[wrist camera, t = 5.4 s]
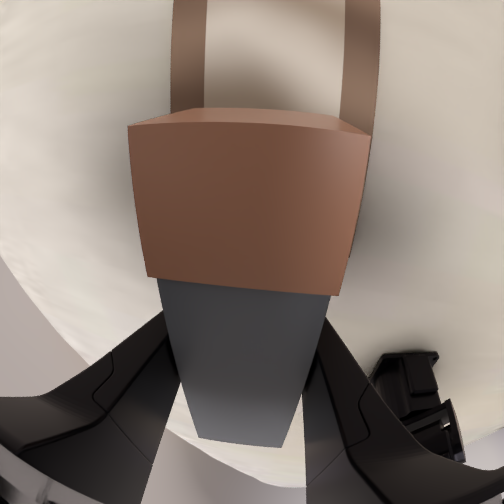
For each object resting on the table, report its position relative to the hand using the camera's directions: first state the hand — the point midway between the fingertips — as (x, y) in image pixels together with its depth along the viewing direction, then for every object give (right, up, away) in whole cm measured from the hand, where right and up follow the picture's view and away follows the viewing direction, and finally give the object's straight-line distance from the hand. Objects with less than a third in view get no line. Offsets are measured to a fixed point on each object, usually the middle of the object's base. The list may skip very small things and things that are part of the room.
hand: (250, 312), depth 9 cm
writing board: (+1, +9, +5) cm, 10 cm away
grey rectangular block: (0, +1, +1) cm, 1 cm away
